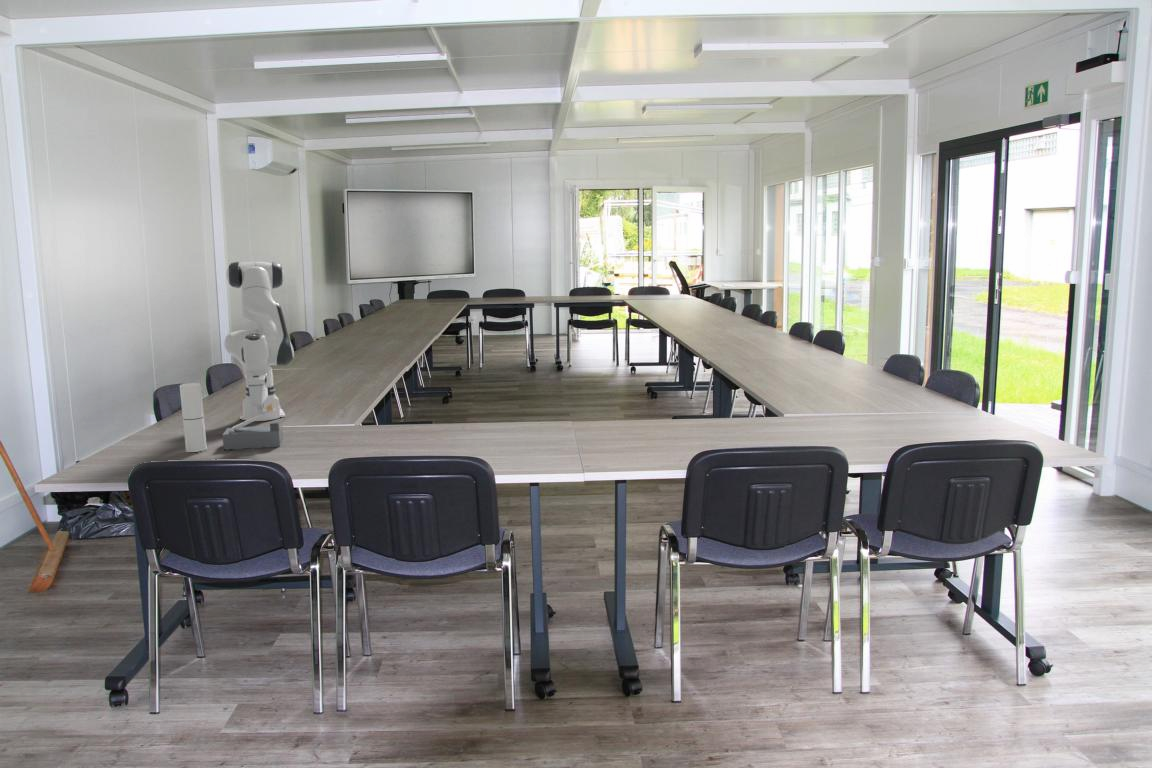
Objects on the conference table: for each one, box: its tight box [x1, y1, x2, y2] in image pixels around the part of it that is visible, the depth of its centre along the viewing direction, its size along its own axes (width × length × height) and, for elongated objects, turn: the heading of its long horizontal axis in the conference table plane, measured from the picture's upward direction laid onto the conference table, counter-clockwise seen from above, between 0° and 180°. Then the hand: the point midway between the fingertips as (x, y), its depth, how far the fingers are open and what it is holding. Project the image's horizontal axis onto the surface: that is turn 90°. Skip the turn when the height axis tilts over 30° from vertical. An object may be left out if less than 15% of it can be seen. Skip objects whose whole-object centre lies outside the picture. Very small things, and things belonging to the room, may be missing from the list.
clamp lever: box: [230, 404, 276, 430], centre depth 328 cm, size 4×17×3 cm, turn 103°
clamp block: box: [221, 421, 284, 450], centre depth 329 cm, size 11×20×9 cm, turn 103°
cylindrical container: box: [179, 382, 208, 453], centre depth 320 cm, size 7×7×25 cm
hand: (261, 413), depth 328 cm, fingers closed, pressing on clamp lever
